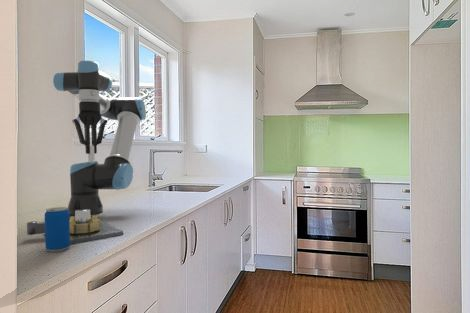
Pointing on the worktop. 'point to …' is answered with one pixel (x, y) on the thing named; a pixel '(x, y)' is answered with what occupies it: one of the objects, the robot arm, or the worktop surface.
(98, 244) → the worktop surface
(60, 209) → the beverage can
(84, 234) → the base plate
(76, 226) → the grey lever
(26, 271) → the worktop surface
